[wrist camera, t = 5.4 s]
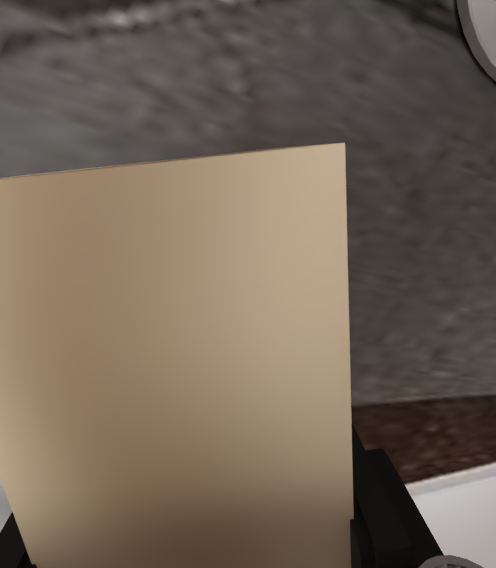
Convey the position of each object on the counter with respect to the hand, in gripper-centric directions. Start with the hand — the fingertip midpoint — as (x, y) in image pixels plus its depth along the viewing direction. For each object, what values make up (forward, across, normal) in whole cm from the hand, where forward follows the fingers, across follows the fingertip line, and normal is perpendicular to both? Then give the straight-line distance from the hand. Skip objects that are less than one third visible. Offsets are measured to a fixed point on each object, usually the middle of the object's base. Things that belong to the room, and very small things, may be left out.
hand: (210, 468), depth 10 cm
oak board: (+1, 0, 0) cm, 1 cm away
